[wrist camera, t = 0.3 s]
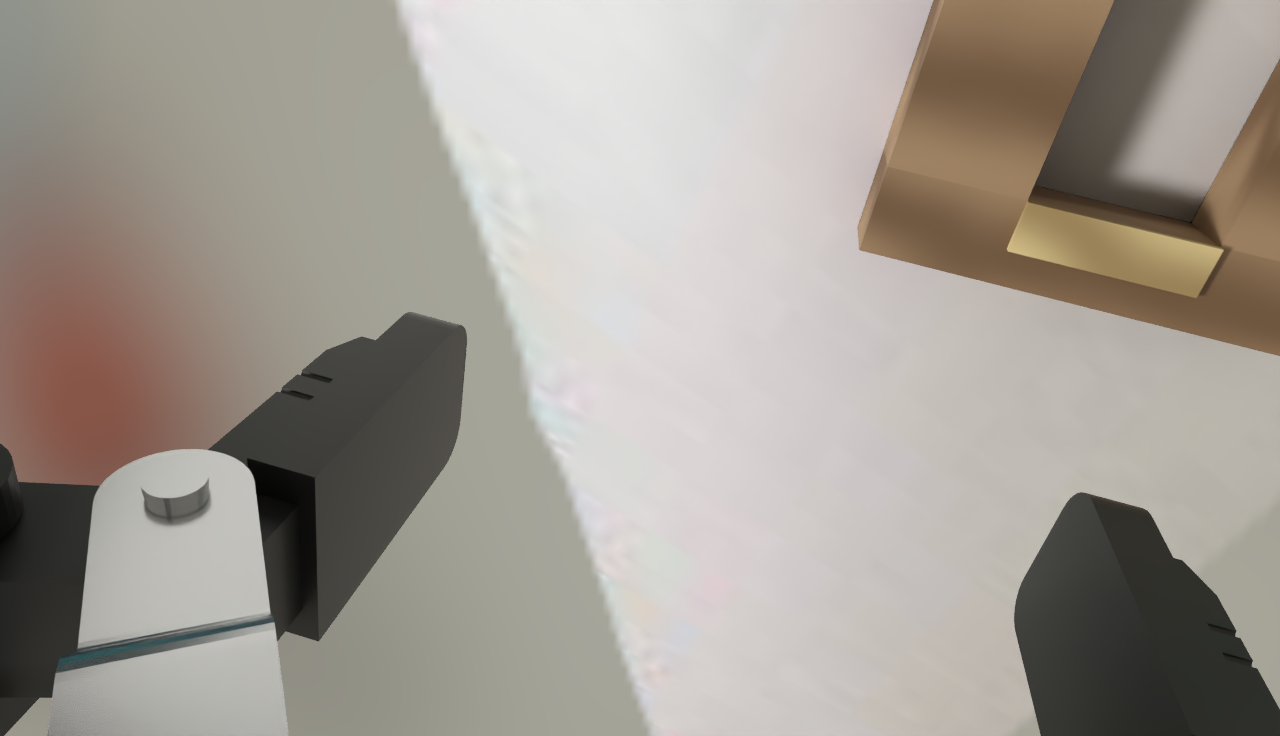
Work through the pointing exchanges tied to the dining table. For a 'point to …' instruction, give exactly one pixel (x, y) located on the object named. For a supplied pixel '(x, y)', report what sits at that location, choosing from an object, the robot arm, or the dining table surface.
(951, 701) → the dining table surface
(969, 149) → the square wooden frame
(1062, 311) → the dining table surface
